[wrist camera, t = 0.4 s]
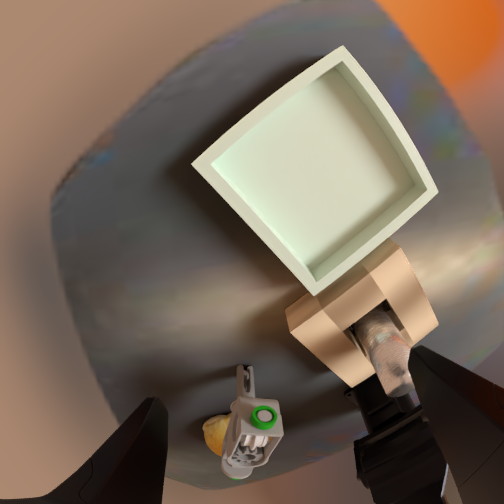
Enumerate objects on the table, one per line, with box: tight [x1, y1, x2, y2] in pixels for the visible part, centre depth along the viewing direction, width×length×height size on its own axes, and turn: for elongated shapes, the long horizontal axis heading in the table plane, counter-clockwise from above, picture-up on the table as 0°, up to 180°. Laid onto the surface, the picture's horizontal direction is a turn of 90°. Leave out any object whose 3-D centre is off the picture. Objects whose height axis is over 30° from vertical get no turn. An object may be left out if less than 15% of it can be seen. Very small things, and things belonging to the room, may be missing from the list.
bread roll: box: [202, 413, 272, 456], centre depth 28 cm, size 8×9×4 cm
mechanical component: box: [221, 364, 284, 480], centre depth 21 cm, size 3×10×10 cm, turn 167°
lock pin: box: [352, 304, 415, 397], centre depth 19 cm, size 3×3×9 cm
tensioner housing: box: [285, 238, 439, 388], centre depth 22 cm, size 10×10×3 cm
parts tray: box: [191, 45, 438, 296], centre depth 18 cm, size 12×12×2 cm
